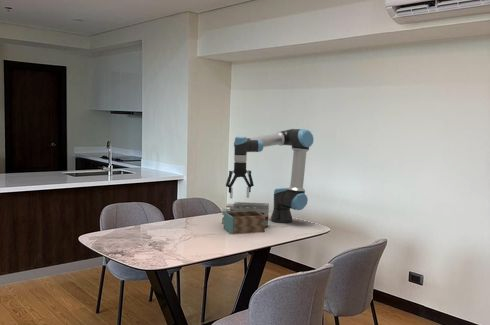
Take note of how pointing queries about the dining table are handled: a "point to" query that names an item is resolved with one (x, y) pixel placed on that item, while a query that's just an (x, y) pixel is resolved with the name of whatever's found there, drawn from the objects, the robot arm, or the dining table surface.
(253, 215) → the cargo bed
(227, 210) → the grey rectangular block
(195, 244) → the dining table surface
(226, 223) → the tailgate
